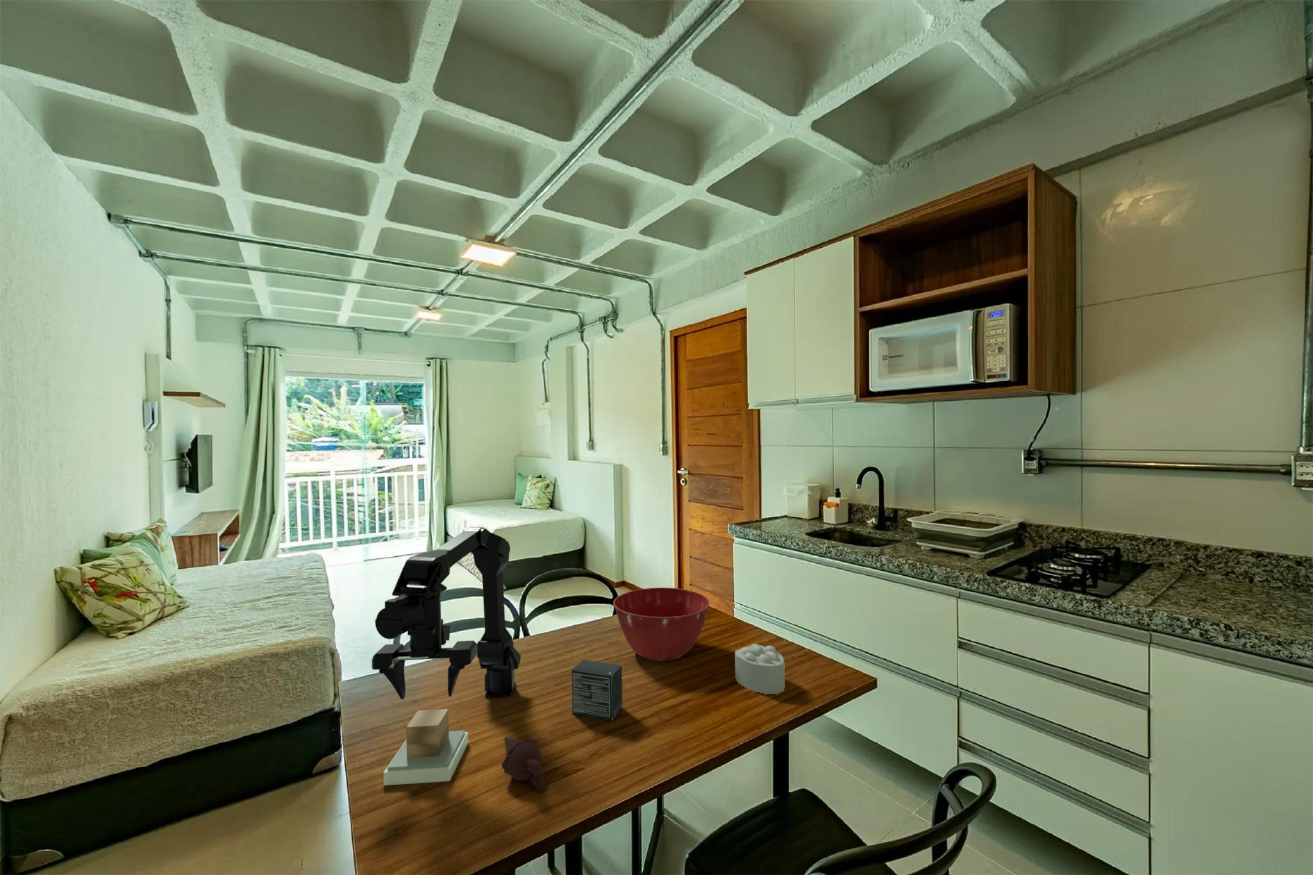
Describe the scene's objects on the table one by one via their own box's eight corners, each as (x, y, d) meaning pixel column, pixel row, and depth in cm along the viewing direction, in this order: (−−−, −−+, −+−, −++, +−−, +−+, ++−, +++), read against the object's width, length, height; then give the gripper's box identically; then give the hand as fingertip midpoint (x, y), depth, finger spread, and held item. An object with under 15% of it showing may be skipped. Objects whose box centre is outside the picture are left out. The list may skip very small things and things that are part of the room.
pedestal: (468, 742, 109) (467, 728, 109) (449, 781, 97) (449, 765, 97) (409, 746, 108) (409, 732, 108) (383, 785, 96) (383, 769, 96)
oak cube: (448, 737, 105) (448, 708, 105) (438, 756, 100) (438, 725, 99) (418, 739, 105) (418, 710, 105) (406, 758, 99) (406, 727, 99)
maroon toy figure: (484, 734, 101) (518, 779, 89) (518, 712, 105) (555, 752, 94) (492, 763, 102) (526, 811, 91) (525, 740, 107) (562, 783, 96)
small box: (624, 707, 122) (623, 663, 122) (612, 722, 116) (612, 675, 116) (584, 700, 126) (583, 657, 126) (571, 714, 119) (570, 669, 119)
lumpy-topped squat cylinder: (758, 668, 141) (757, 637, 141) (795, 687, 131) (794, 653, 131) (730, 679, 136) (729, 646, 136) (766, 699, 125) (765, 664, 125)
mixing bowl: (651, 627, 173) (651, 581, 173) (727, 646, 156) (726, 595, 156) (594, 657, 150) (593, 604, 150) (675, 683, 133) (674, 624, 133)
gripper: (483, 604, 111) (484, 675, 112) (394, 607, 110) (395, 680, 110) (469, 622, 100) (470, 702, 100) (369, 627, 99) (371, 707, 99)
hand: (426, 696), depth 103 cm, fingers open, 9 cm apart
